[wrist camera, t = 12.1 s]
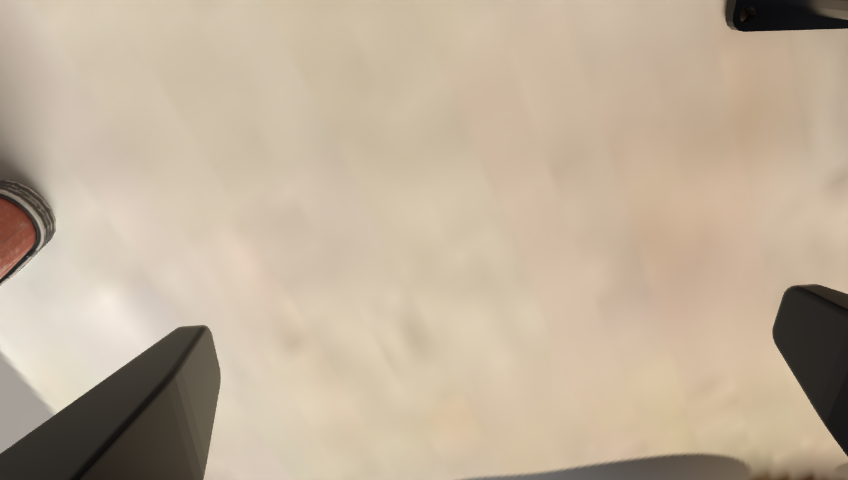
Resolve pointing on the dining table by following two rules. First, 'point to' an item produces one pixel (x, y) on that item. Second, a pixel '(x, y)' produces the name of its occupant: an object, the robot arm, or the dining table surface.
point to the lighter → (22, 227)
